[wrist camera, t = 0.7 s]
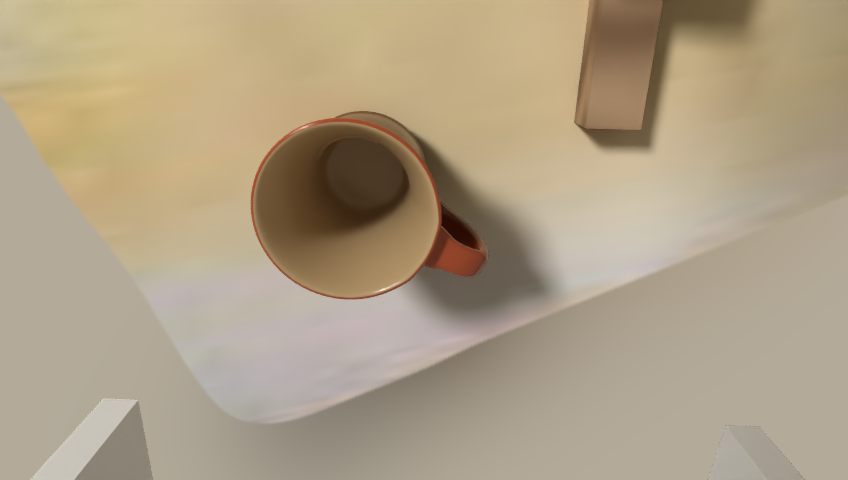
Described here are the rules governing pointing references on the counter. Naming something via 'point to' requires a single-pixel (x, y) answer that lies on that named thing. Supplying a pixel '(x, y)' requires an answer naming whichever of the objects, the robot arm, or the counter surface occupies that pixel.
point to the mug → (357, 209)
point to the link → (617, 63)
